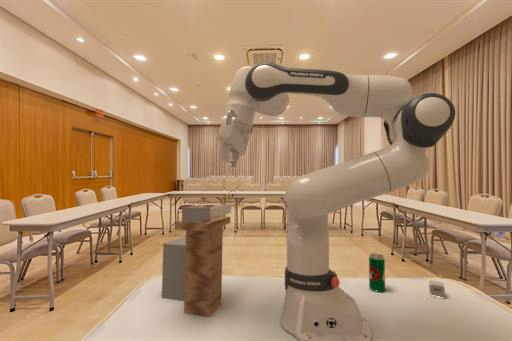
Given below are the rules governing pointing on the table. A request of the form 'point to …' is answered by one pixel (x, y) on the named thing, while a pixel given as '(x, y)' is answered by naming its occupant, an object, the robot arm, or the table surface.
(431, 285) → the usb wall charger
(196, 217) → the link bar
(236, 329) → the table surface
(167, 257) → the pedestal
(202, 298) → the brown wooden post
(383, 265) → the soda can
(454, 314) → the table surface
